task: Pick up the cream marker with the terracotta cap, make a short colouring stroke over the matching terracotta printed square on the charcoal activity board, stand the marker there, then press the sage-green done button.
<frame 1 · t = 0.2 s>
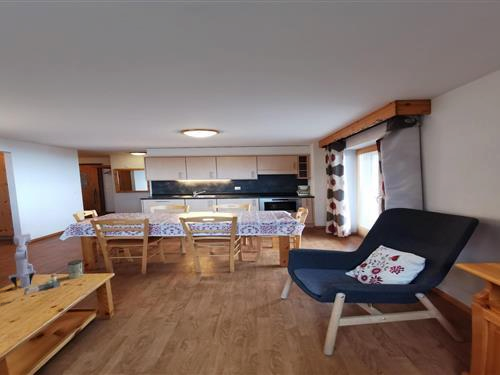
hand: (23, 285, 179), 10 cm above the table, fingers open, 7 cm apart
activity board: (43, 288, 195), on the table
done button: (48, 282, 194), point 5 cm above the table, slide at 0.0 cm
marker: (54, 283, 202), point 1 cm above the table, touching activity board
button housing: (49, 287, 194), resting on activity board
coffee can: (75, 277, 216), on the table
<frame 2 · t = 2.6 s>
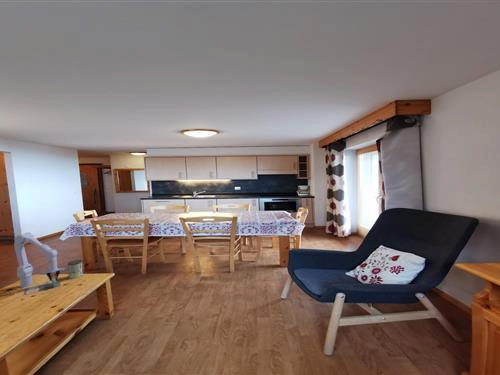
hand: (53, 280, 202), 3 cm above the table, fingers closed on marker, 3 cm apart
marker: (54, 283, 202), point 1 cm above the table, touching activity board, gripper
everything else where it was.
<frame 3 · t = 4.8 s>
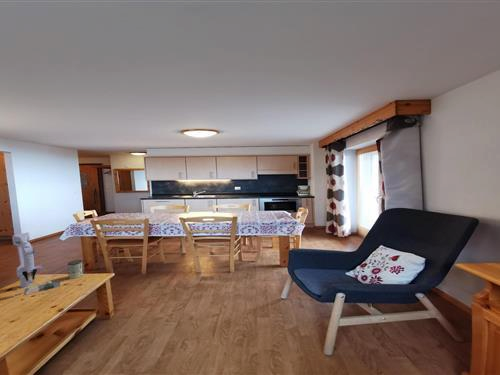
hand: (30, 279, 189), 10 cm above the table, fingers closed on marker, 3 cm apart
marker: (30, 282, 189), point 8 cm above the table, touching gripper
everything else where it was.
when the fingers open (4 cm above the table, at t = 6.9 s): marker drops 1 cm, resting on activity board.
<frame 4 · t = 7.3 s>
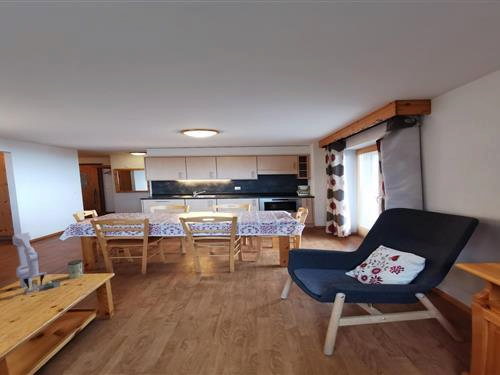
hand: (34, 286, 190), 4 cm above the table, fingers open, 7 cm apart
marker: (35, 290, 190), point 1 cm above the table, touching activity board
everything else where it was.
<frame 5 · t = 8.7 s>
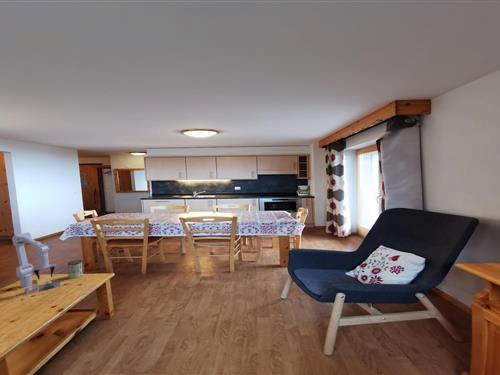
hand: (45, 277, 193), 10 cm above the table, fingers open, 7 cm apart
nothing on the table moved.
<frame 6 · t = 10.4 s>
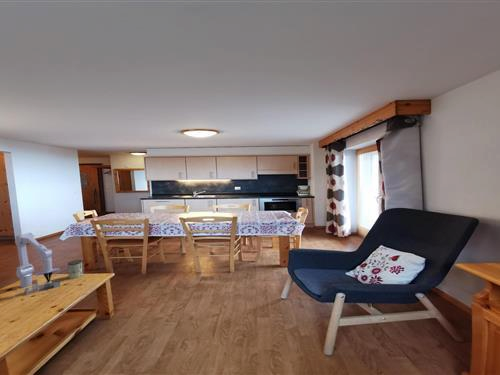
hand: (48, 281, 194), 6 cm above the table, fingers closed, pressing on done button
done button: (48, 282, 194), point 5 cm above the table, slide at 0.0 cm, touching gripper
everything else where it was.
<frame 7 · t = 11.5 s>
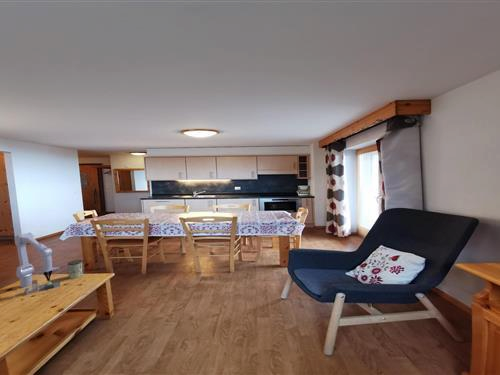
hand: (48, 280, 194), 7 cm above the table, fingers closed
done button: (48, 284, 194), point 4 cm above the table, slide at 1.1 cm
everything else where it was.
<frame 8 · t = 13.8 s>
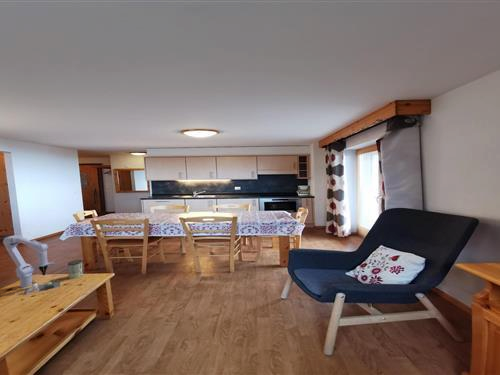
hand: (44, 275, 199), 9 cm above the table, fingers closed
nothing on the table moved.
at the end: marker inside the target area (1.3 cm from its centre), point 0.9 cm above the table; marker tilted 0°; done button slide at 1.1 cm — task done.
